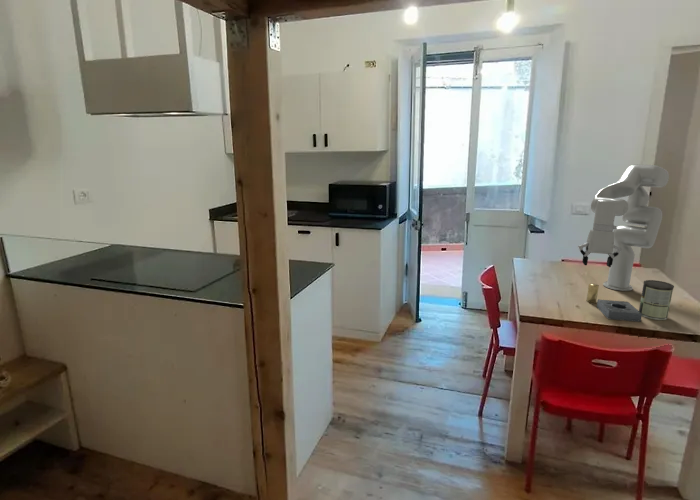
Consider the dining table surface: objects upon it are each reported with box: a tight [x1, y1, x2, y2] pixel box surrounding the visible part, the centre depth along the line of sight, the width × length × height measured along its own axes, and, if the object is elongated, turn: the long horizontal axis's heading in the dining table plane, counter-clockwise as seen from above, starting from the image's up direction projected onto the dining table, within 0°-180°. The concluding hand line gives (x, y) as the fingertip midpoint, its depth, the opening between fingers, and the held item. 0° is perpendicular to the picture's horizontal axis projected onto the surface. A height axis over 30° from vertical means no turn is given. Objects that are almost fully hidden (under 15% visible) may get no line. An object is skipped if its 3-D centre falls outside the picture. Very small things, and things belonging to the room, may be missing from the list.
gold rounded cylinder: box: [586, 283, 600, 304], centre depth 194 cm, size 4×4×8 cm
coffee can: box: [638, 279, 675, 321], centre depth 177 cm, size 10×10×14 cm
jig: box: [596, 298, 643, 323], centre depth 180 cm, size 14×12×4 cm
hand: (596, 265), depth 190 cm, fingers open, 9 cm apart
